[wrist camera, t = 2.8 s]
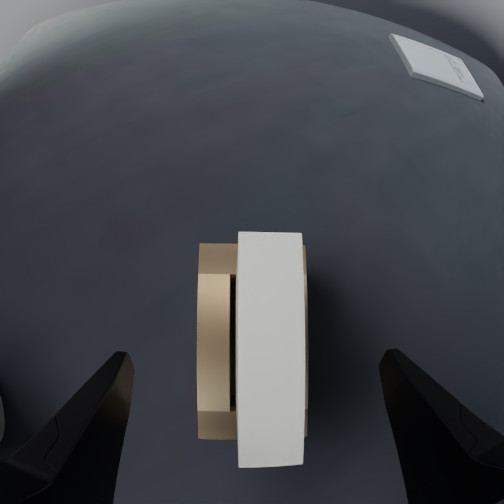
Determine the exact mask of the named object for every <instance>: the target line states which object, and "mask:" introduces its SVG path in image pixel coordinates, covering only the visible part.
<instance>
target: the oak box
mask: <svg viewBox="0 0 504 504" xmlns="http://www.w3.org/2000/svg"><path fill="white" fill-rule="evenodd" d="M302 248H303V271H304V301H305V423H304V436H307V420H308V304H307V274H306V251H305V245H302ZM237 253H238V244H203V243H200V249H199V273H198V307H197V404H198V436H199V439H223V440H237V416H236V378H235V318H236V273H237Z"/></svg>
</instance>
